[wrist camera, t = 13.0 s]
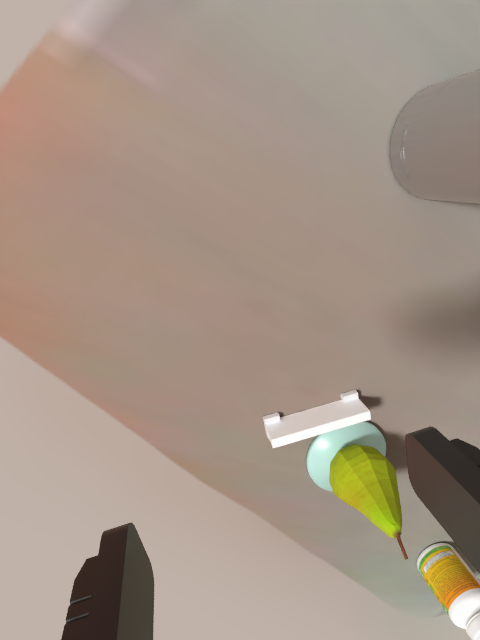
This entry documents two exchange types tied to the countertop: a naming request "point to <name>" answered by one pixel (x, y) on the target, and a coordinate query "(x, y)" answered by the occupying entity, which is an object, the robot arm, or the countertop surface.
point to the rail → (316, 420)
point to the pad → (335, 440)
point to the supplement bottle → (453, 586)
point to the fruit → (368, 487)
